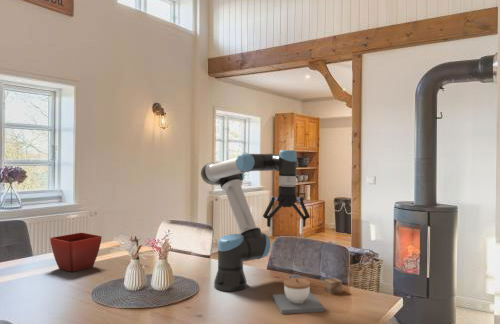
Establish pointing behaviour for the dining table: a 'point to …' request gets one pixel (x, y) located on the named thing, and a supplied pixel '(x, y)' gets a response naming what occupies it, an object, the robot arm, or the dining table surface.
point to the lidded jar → (296, 290)
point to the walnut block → (333, 286)
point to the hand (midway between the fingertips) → (285, 234)
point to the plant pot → (75, 251)
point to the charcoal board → (308, 306)
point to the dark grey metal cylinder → (295, 276)
